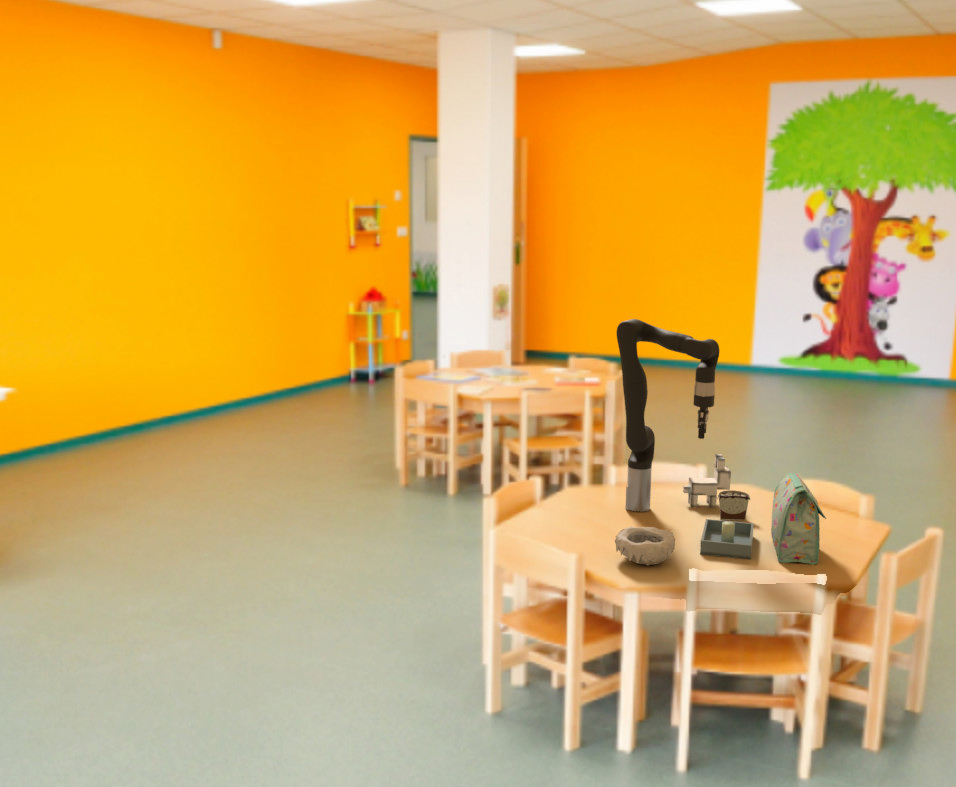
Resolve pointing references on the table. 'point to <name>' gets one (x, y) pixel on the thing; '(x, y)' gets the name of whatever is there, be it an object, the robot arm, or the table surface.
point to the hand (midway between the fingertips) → (702, 435)
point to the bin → (717, 548)
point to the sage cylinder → (728, 532)
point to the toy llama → (709, 484)
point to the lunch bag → (795, 522)
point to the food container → (733, 505)
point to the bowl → (645, 544)
